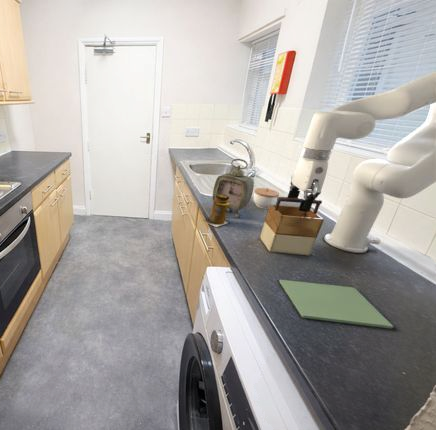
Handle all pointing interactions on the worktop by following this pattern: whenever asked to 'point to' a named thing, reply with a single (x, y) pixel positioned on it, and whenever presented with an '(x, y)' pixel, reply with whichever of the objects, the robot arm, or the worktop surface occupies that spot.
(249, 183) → the tabletop clock
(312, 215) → the wooden basket
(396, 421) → the worktop surface
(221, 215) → the condiment
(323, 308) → the green mat
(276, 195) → the trinket box
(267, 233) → the cream basket
